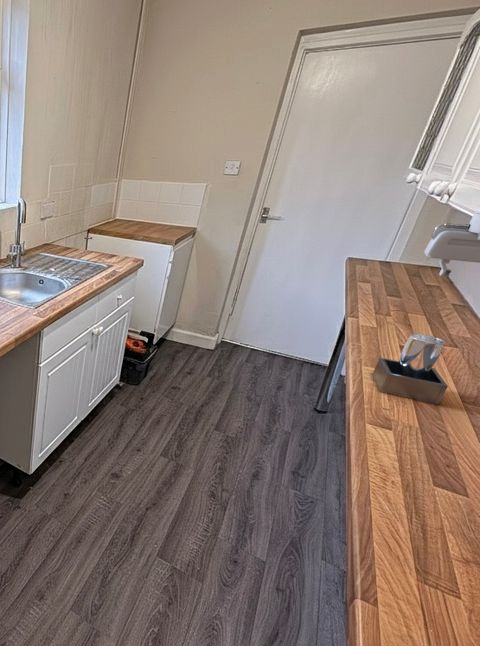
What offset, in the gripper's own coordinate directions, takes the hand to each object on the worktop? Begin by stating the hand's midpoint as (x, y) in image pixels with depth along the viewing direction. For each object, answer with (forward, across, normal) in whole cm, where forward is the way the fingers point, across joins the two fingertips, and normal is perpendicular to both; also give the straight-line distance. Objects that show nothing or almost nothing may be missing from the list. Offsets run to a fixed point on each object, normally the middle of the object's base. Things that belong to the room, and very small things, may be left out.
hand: (468, 278), depth 110 cm
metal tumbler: (+30, -5, -10) cm, 32 cm away
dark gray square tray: (+31, -5, -10) cm, 33 cm away
